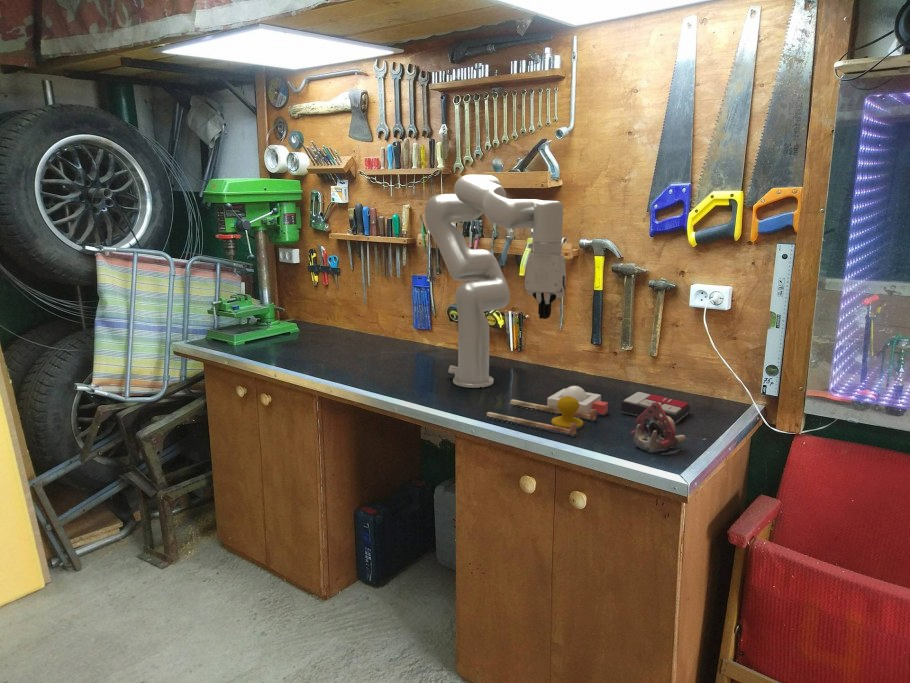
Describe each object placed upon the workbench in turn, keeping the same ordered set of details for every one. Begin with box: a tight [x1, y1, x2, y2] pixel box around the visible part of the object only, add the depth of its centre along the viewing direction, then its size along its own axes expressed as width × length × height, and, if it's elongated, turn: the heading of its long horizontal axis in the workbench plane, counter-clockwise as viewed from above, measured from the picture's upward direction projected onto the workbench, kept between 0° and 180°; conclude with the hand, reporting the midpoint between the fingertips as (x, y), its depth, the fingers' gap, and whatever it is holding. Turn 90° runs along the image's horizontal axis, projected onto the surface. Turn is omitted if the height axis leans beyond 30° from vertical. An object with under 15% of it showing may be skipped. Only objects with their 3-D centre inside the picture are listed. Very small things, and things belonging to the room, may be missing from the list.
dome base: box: [546, 388, 609, 414], centre depth 182 cm, size 14×11×4 cm
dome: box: [563, 385, 586, 402], centre depth 183 cm, size 6×6×6 cm
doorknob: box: [550, 396, 584, 428], centre depth 170 cm, size 8×8×8 cm
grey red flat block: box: [620, 391, 691, 422], centre depth 180 cm, size 11×4×15 cm
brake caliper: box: [630, 402, 687, 450], centre depth 157 cm, size 11×11×12 cm
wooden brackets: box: [486, 399, 597, 435], centre depth 175 cm, size 25×15×3 cm, turn 57°
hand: (544, 317), depth 179 cm, fingers closed
